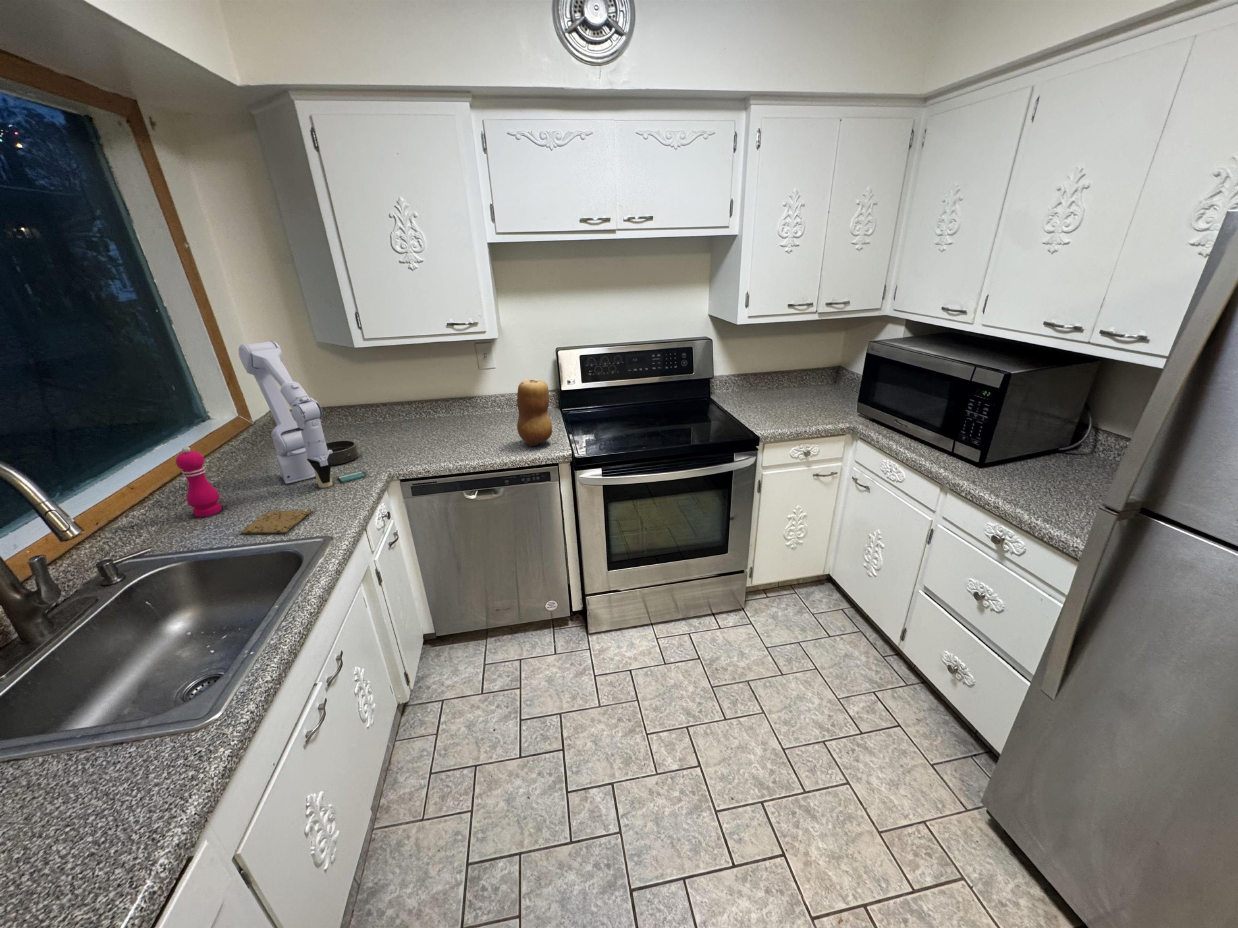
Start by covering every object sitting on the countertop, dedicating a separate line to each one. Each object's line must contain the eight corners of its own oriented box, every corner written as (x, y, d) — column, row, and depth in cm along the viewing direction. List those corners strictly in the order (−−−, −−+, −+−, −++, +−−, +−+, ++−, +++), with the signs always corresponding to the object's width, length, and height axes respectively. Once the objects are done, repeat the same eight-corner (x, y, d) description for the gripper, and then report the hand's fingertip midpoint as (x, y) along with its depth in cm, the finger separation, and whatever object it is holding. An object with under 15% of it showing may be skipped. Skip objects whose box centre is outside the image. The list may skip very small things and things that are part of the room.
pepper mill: (219, 504, 149) (197, 440, 142) (227, 511, 145) (205, 446, 138) (189, 513, 144) (165, 447, 137) (196, 520, 140) (171, 453, 132)
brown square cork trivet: (312, 512, 144) (311, 508, 143) (286, 533, 133) (285, 530, 132) (270, 512, 144) (269, 509, 143) (240, 533, 133) (239, 530, 132)
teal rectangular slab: (342, 482, 163) (341, 481, 163) (338, 478, 166) (337, 476, 166) (365, 477, 167) (364, 475, 167) (360, 472, 171) (360, 470, 170)
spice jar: (319, 489, 159) (314, 468, 156) (316, 484, 161) (311, 464, 159) (334, 485, 161) (329, 464, 158) (331, 481, 164) (326, 461, 161)
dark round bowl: (322, 469, 174) (319, 455, 172) (314, 458, 183) (310, 445, 181) (363, 459, 181) (360, 446, 180) (353, 450, 191) (350, 437, 189)
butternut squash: (556, 447, 192) (553, 382, 182) (521, 452, 187) (516, 386, 178) (547, 436, 204) (543, 375, 194) (514, 440, 199) (509, 378, 190)
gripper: (334, 443, 153) (344, 483, 158) (323, 431, 163) (332, 470, 168) (308, 448, 148) (319, 490, 154) (298, 436, 159) (308, 476, 164)
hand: (324, 480), depth 161 cm, fingers closed on spice jar, 4 cm apart
